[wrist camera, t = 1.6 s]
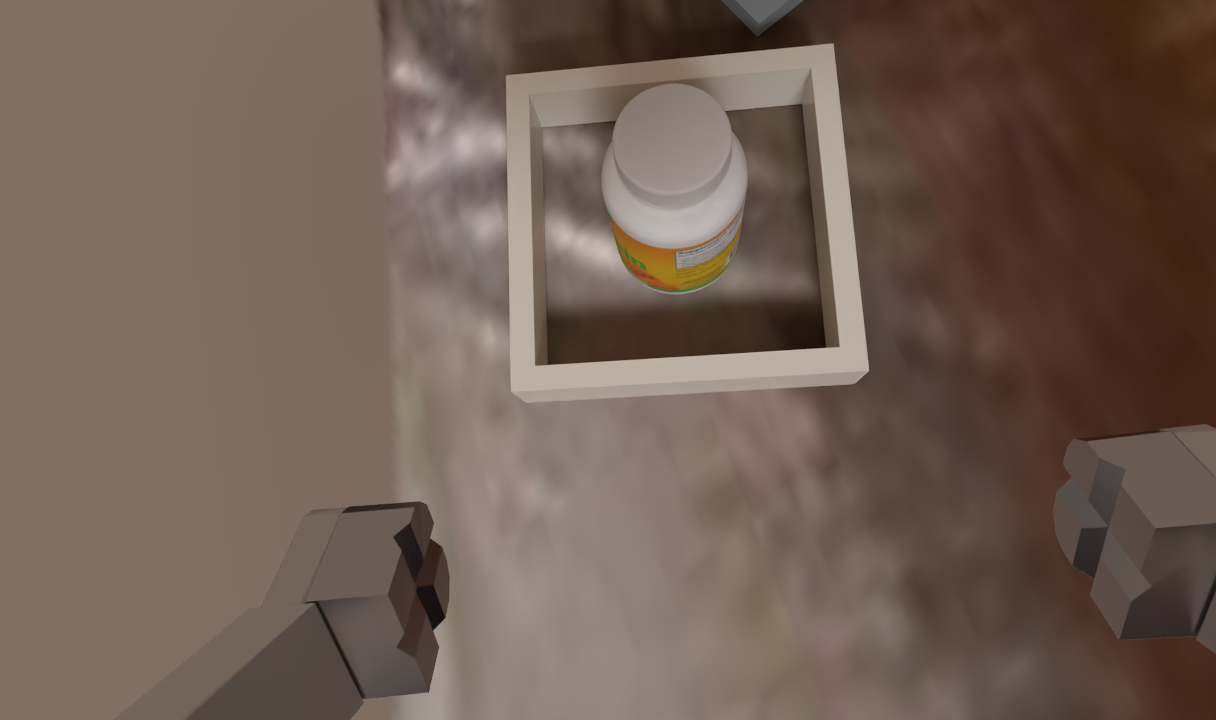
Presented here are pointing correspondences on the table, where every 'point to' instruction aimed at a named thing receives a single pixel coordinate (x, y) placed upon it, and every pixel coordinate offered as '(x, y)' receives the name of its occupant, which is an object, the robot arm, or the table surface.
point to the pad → (760, 12)
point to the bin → (735, 87)
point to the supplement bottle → (675, 188)
